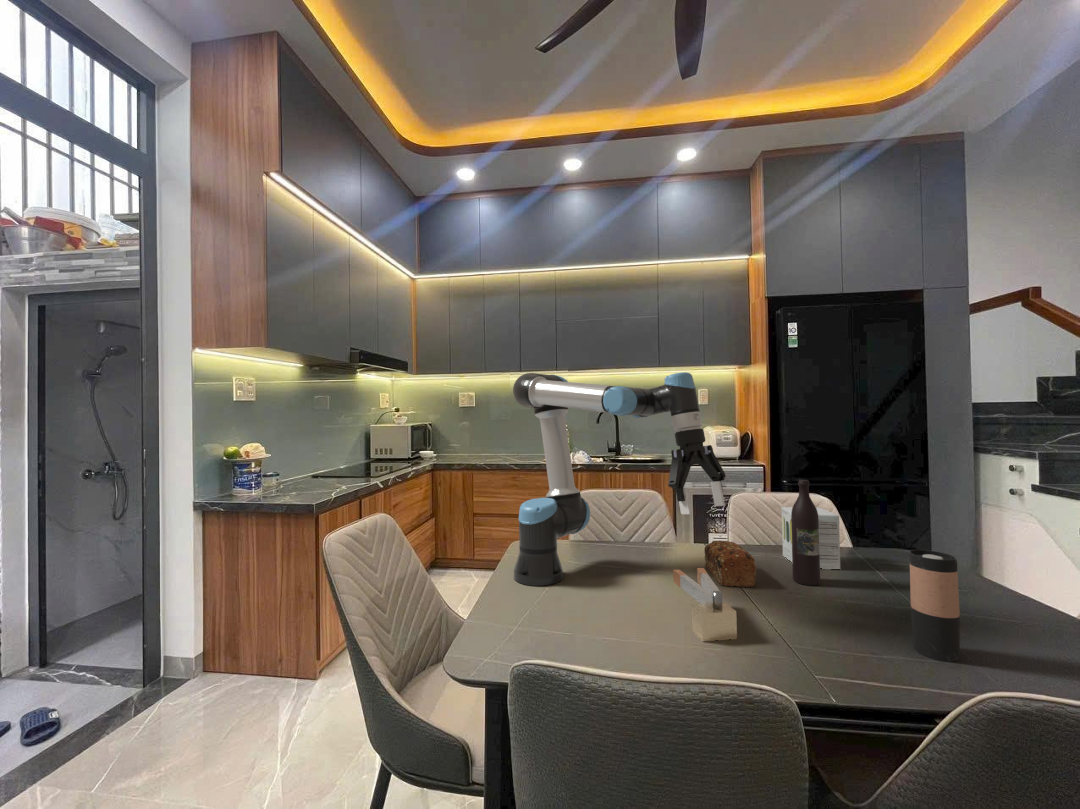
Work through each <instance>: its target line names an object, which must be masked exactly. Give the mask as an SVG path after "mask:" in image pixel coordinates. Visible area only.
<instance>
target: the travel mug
mask: <svg viewBox="0 0 1080 809" xmlns="http://www.w3.org/2000/svg"><path fill="white" fill-rule="evenodd" d="M958 573H959V572H958V560H957V557H955V555H953V554H949V553H945V552H940V551H935V550H929V549H911V550H910V551H909V586H910V587H909V589H910V590H909V591H910V597H909V598H910V614H911V629H912V630H911V631H912V642H913V648H914V651H915V652H917V653H918V654H919V655H921V656H924V657H926V658H929V659H932V660H936V661H940V662H947V663H949V662H950V663H954V662H955V663H956V662H959V660H960V654H961V653H960V650H961V649H960V648H961V645H960V641H961V638H960V637H961V633H960V632H961V629H960V628H961V627H960V626H961V624H960V623H961V620H960V619H961V618H960V616H961V611H960V599H959V598H960V595H959V594H960V593H959V576H958V575H959V574H958Z"/></svg>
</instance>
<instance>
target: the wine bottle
mask: <svg viewBox="0 0 1080 809" xmlns="http://www.w3.org/2000/svg"><path fill="white" fill-rule="evenodd" d="M797 483H798V485H797V486H799V487H798V490H799V491H798V495H797V496H798V497H797V498H796V500H795V502H794V503H793V506H792V507H793V508H792V512H791V527H792V563H791V564H792V580H793V581H794V582H795V583H798V584H799V583H800V585H803V584H804V586H809V585H811V587H812V586H819V585H820V584H821V569H820V551H819V519H818V512H817V509H816V508H817V507H816V505H815V503H814V502H813V500H812V499H811V497H810V491H809V490H810V481H809V480H808V479H799V480H798V482H797Z"/></svg>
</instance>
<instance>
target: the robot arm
mask: <svg viewBox="0 0 1080 809" xmlns="http://www.w3.org/2000/svg"><path fill="white" fill-rule="evenodd" d="M695 385H696V384H695V382H694V377H693V375H692V374H691V372H677V373H672V374H669V375H666V376H665V377H664V384H662V385H660V386H656V387H651V388H641V387H638V388H637V387H629V386H623V385H617V386H616V385H608V384H595V383H584V382H583V383H582V382H571V381H568V380H567V379H566V378H564V377H563V376H560V375H556V374H544V373H534V372H527V373H524V374H522V375H520V376H519V377H518V378H517V379H516V380H515V381H514V383H513V388H512V394H513V397H514V399H515V401H516V402H517V403H518V404H519V405H520V406H522V407H524V408H530V409H533V411H534V416H535V417H536V418H537V419H538V420H539V422H540V423H539V424H540V430H541V436H542V445H543V452H544V460H545V466H546V473H547V481H548V487H549V490H548V492H547V493H546V495H545V497H538V498H531V499H528V500H526V501H524V502H522V503H521V504H520V506H519V514H518V530H519V531H518V538H519V539H518V543H519V544H518V546H519V548H518V549H519V550H518V552H519V553H518V556H517V559H516V561H515V562H516V563H515V566H514V569H513V580H514V581H515V582H517V583H520V584H522V585H525V586H538V587H540V586H549V585H550V586H551V585H554V584H557V583H559V582H561V581H562V580H563V578H564V569H563V566H562V564H561V559H560V558H559V554H558V539H560V538H562V537H565V536H568V535H569V536H570V535H575V534H578V533H579V532H581V531H583V530H584V529H585V528H586V527H587V525H588V524H589V522H590V519H591V510H590V508H591V507H590V506H589V503H588V502H587V501H586V499H585V498H583V497H582V495H581V490H580V489H578V488H577V487H576V486H575V479H574V472H573V465H572V458H571V453H570V452H571V451H570V442H569V437H568V430H567V424H566V423H567V422H566V415H567V413H568V412H569V408H570V409H577V410H585V411H591V412H598V413H599V412H601V413H607V414H611V415H615V416H618V417H619V416H622V417H624V416H625V417H626V416H632V417H633V418H635V419H639V418H647V417H651V416H655V415H659V414H662V413H667V412H669V413H670V416H671V423H672V428H673V431H675V433H674V439H675V444H676V446H677V447H679V448H678V449H671V463H670V470H669V477H668V483H667V486H668V488H671V489H673V490H675V496H676V499H677V502H678V504H679V509H680V510H679V511H680V514H681V515H691V514H692V509H691V503H690V498H689V493H688V492H689V491H688V488H687V487H685V485H686V482H687V479H688V477H689V473H690V471H691V468H692V467H693V465H698V466H700V467H701V469H702V470H703V471H704V472H705V474H706V475H707V476H708V477H709V479H710V480H711V481H710V483H709V484H710V487H711V494H712V499H713V503H714V507H725V506H726V504H725V498H724V492H723V491H724V490H723V484H722V481H725V478H726V475H727V474H726V473H725V471H724V469H723V467H722V465H721V463H720V462H719V459H718V458H717V456H716V454H715V452H714V448H713V446H712V445H711V444H709V445H704V443H705V442H706V437H705V436H706V435H705V431H704V429H703V428H701V427H703V422H702V417H701V410H700V406H699V400H698V395H697V387H696V386H695Z"/></svg>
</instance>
